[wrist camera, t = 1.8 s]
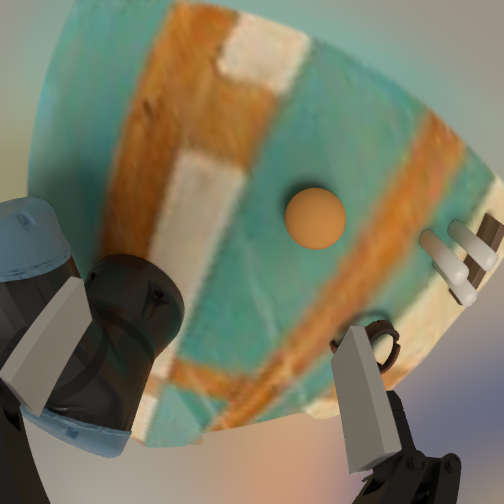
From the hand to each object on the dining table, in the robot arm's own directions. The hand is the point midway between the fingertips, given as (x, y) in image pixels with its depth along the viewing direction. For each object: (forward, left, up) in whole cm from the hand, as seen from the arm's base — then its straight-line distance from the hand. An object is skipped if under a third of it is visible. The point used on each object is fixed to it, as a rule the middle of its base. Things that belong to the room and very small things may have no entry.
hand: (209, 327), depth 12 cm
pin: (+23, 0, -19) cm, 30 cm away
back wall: (+33, 0, -19) cm, 38 cm away
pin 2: (+27, -2, -19) cm, 33 cm away
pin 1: (+27, +3, -19) cm, 33 cm away
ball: (+7, 0, -16) cm, 18 cm away
